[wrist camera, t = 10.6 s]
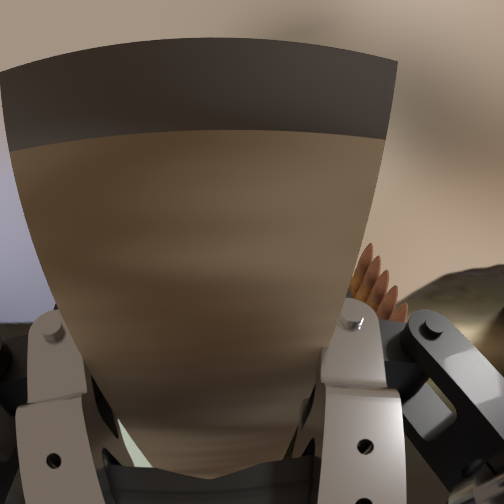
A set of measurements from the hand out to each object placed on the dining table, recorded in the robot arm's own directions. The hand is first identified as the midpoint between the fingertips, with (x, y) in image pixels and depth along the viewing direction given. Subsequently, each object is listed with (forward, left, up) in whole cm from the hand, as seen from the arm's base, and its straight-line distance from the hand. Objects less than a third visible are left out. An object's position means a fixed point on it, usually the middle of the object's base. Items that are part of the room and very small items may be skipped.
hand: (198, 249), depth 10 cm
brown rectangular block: (0, +3, -8) cm, 8 cm away
